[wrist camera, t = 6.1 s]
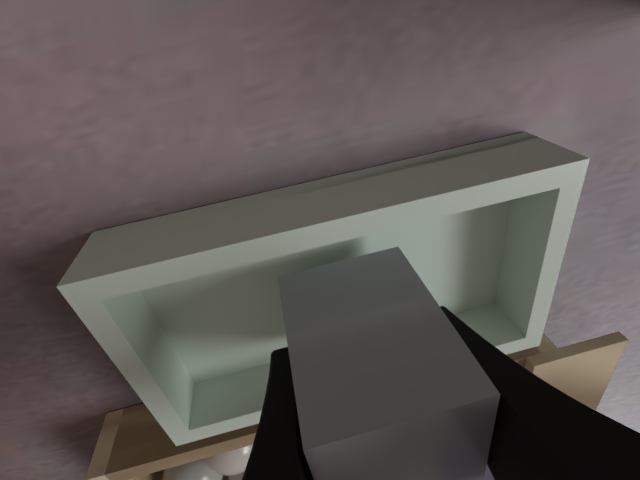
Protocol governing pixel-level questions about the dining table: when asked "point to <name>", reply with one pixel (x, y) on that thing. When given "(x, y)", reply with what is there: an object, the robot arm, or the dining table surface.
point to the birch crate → (161, 453)
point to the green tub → (316, 250)
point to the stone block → (383, 375)
